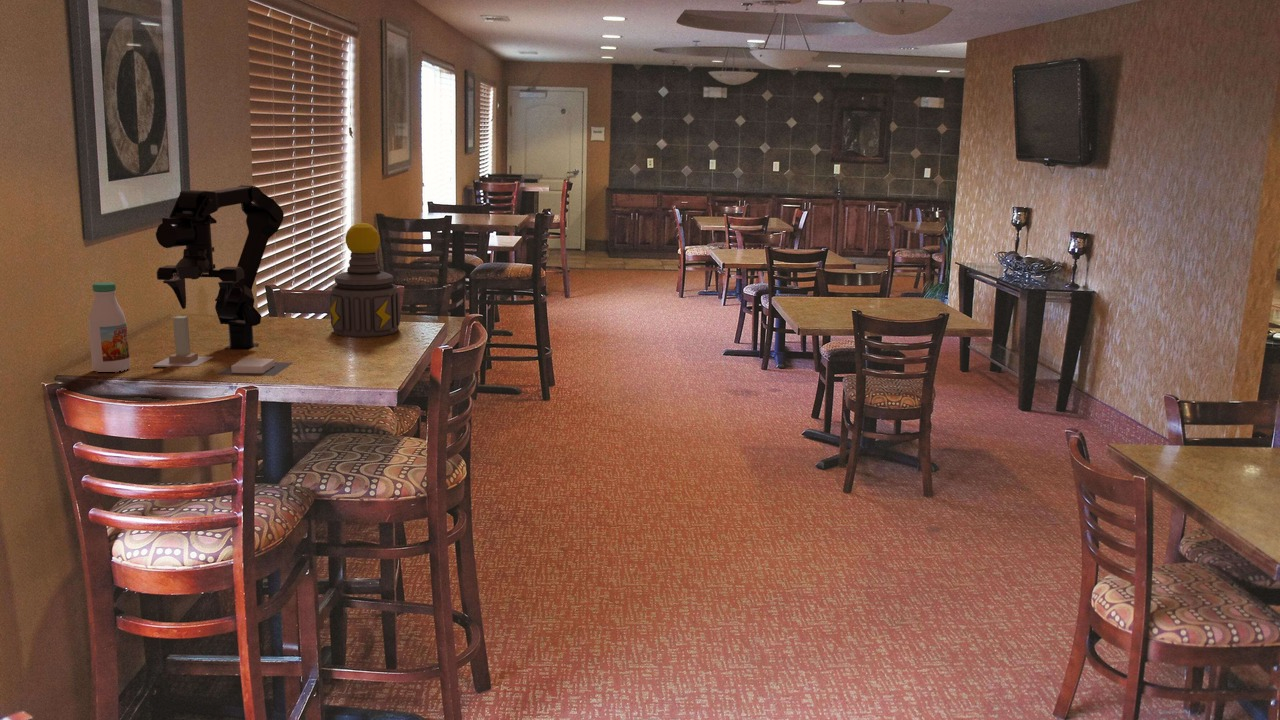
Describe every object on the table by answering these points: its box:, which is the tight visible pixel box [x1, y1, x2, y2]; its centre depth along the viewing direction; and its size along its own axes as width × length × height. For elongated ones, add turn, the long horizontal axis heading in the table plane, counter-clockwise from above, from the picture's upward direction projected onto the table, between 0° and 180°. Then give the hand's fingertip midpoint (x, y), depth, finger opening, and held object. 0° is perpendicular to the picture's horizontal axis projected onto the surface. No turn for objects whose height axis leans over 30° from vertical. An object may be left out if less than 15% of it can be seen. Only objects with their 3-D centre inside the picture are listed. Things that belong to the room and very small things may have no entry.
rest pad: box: [152, 355, 214, 368], centre depth 244 cm, size 10×10×1 cm
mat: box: [217, 360, 293, 377], centre depth 239 cm, size 13×13×1 cm
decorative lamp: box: [329, 222, 401, 338], centre depth 283 cm, size 19×19×30 cm
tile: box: [230, 357, 276, 374], centre depth 237 cm, size 2×7×8 cm
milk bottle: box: [88, 281, 131, 373], centre depth 234 cm, size 8×8×20 cm
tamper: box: [168, 315, 199, 363], centre depth 243 cm, size 4×5×10 cm
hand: (203, 309), depth 247 cm, fingers open, 9 cm apart
